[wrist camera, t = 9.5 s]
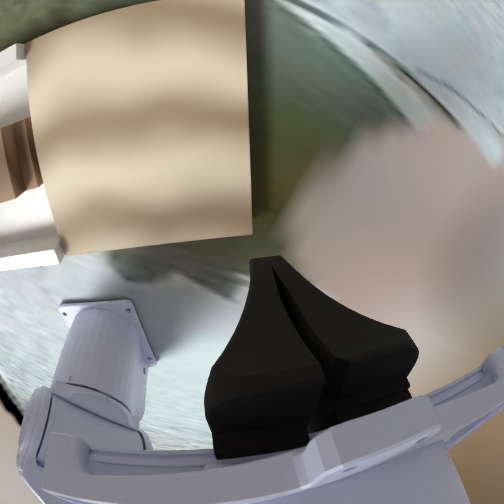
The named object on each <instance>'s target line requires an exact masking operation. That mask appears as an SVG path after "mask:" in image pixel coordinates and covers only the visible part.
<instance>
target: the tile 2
mask: <svg viewBox="0 0 504 504" xmlns="http://www.w3.org/2000/svg"><path fill="white" fill-rule="evenodd" d="M13 130H14V136H15V142H16V148H17V153H18V158H19V163H20V168H21V172H22V176H23V180H24V184H25V188H26V191H27V190H30V189H34V188H38V187H39V186H41V185H42V184H43V179H42V175H41V171H40V166H39V162H38V157H37V152H36V147H35V141H34V135H33V129H32V122H31V117H29V118H26V119H23V120H21V121H18V122H16V123H14V124H13Z"/></svg>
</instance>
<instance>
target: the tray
mask: <svg viewBox="0 0 504 504" xmlns="http://www.w3.org/2000/svg"><path fill="white" fill-rule="evenodd" d="M29 117H31V115H30V106H29V96H28V84H27V64H26V44H18V43H16V44H14V45H12V46H10V47H9V48H7V49H5V50H3V51H2V52H0V128H2V127H5V126H8V125H10V124H14V123H16V122H18V121H21V120H23V119H26V118H29ZM64 256H65V251H64V249H63V246H62V243H61V240H60V237H59V234H58V231H57V228H56V225H55V222H54V219H53V216H52V212H51V209H50V206H49V202H48V199H47V195H46V191H45V187H44V183H43V184H42V185H41V186H39V187H38V188H34V189H30V190H27V191H25V192H24V193H22V194H21V195H20V196H18V197H17V198H16V199H13V200H9V201H6V202H3V203H0V271H6V270H13V269H21V268H29V267H37V266H45V265H53V264H60V262H61V260H62V259H63V257H64Z"/></svg>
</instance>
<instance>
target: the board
mask: <svg viewBox="0 0 504 504" xmlns="http://www.w3.org/2000/svg"><path fill="white" fill-rule="evenodd" d="M26 64H27V84H28V96H29V106H30V115H31V122H32V129H33V135H34V141H35V147H36V152H37V157H38V162H39V166H40V171H41V175H42V179H43V183H44V187H45V191H46V195H47V199H48V202H49V206H50V209H51V212H52V216H53V219H54V222H55V225H56V228H57V231H58V234H59V237H60V240H61V243H62V246H63V249H64V251H65V254H66V256H70V255H77V254H85V253H93V252H101V251H109V250H117V249H125V248H133V247H142V246H150V245H159V244H167V243H176V242H185V241H194V240H203V239H212V238H222V237H231V236H241V235H251V234H253V233H252V203H251V174H250V144H249V115H248V87H247V58H246V30H245V2H244V0H158V1H153V2H147V3H142V4H137V5H133V6H129V7H124V8H120V9H116V10H113V11H109V12H105V13H102V14H99V15H95V16H92V17H89V18H86V19H83V20H80V21H77V22H74V23H72V24H69V25H66V26H64V27H61V28H59V29H56V30H54V31H51V32H49V33H47V34H45V35H42V36H40V37H38V38H36V39H34V40H32V41H29V42H27V43H26Z"/></svg>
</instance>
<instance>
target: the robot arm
mask: <svg viewBox="0 0 504 504" xmlns="http://www.w3.org/2000/svg"><path fill="white" fill-rule="evenodd" d="M249 263H250V286H249V292H248V296H247V300H246V303H245V307H244V310H243V313H242V315H241V318H240V320H239V323H238V325H237V327H236V329H235V332H234V334H233V336H232V337H231V339H230V341H229V343H228V344H227V346H226V348H225V350H224V351H223V353H222V354H221V356H220V357H219V358H218V360H217V361H216V362H215V364H214V365H213V367H212V368H211V372H210V375H209V378H208V382H207V386H206V390H205V397H204V407H205V417H206V420H207V422H208V425H209V427H210V430H211V432H212V439H213V448H214V449H200V450H153V447H152V445H151V442H150V439H149V437H148V435H147V434H146V433H145V432H144V431H142V430H140V429H139V422H140V420H141V419H142V417H143V414H144V411H145V398H146V385H147V373H148V367H155V366H156V365H157V361H156V359H155V357H154V355H153V352H152V350H151V348H150V345H149V343H148V341H147V338H146V336H145V333H144V331H143V329H142V326H141V324H140V321H139V318H138V316H137V313H136V311H135V308H134V305H133V303H132V302H131V301H130V300H114V301H100V302H86V303H70V304H60V305H59V308H58V309H59V311H60V313H61V315H62V317H63V319H64V321H65V322H66V324H67V326H68V328H69V329H70V330H69V333H68V335H67V338H66V341H65V344H64V347H63V350H62V352H61V355H60V358H59V362H58V365H57V368H56V371H55V374H54V378H53V381H52V384H51V387H50V389H49V388H47V387H46V386H42V387H41V388H38V389H35V390H34V392H33V394H32V396H31V398H30V400H29V403H28V406H27V409H26V412H25V415H24V418H23V422H22V426H21V431H20V436H19V447H18V452H17V457H16V463H17V467H18V469H19V474H20V476H21V478H22V479H23V481H24V482H25V483H26V484H27V486H28V487H29V488H30V489H31V490H32V491H33V493H34V494H35V495H36V496H37V497H38V498H39V500H40V501H41V502H42V503H43V504H470V502H469V499H468V496H467V494H466V492H465V489H464V487H463V484H462V482H461V480H460V478H459V475H458V473H457V471H456V468H455V466H454V464H453V462H452V460H451V457H450V455H449V453H448V451H447V449H448V448H450V447H452V446H453V445H455V444H456V443H458V442H459V441H461V440H462V439H464V438H465V437H466V436H468V435H469V434H471V433H472V432H474V431H475V430H476V429H478V428H479V427H480V426H482V425H483V424H484V423H486V422H487V421H488V420H490V419H491V418H492V417H494V416H495V415H496V414H497V413H499V412H500V411H501V410H502V409H503V408H504V346H501V347H500V348H498V349H497V350H495V351H493V352H492V353H490V354H489V355H488V356H487V357H486V358H485V360H484V361H483V362H482V364H481V366H480V367H478V368H477V369H475V370H473V371H471V372H469V373H468V374H466V375H464V376H462V377H460V378H458V379H456V380H455V381H453V382H451V383H449V384H447V385H445V386H443V387H441V388H439V389H437V390H434V391H432V392H430V393H428V394H426V395H424V396H423V395H421V396H418V397H414V398H412V396H411V394H410V393H409V391H408V388H409V387H410V383H409V381H408V379H407V376H408V375H409V373H410V371H411V370H412V368H413V367H414V365H415V363H416V361H417V359H418V355H419V351H418V348H417V346H416V345H415V343H414V342H413V340H412V339H411V337H410V336H409V334H408V333H407V332H406V330H404V329H400V328H397V327H393V326H390V325H387V324H383V323H381V322H378V321H376V320H373V319H370V318H368V317H366V316H363V315H361V314H359V313H357V312H355V311H353V310H351V309H349V308H347V307H345V306H344V305H342V304H340V303H338V302H337V301H335V300H334V299H332V298H330V297H329V296H327V295H326V294H324V293H323V292H322V291H320V290H319V289H318V288H316V287H315V286H314V285H312V284H311V283H310V282H309V281H308V280H306V279H305V278H304V277H303V276H302V275H301V274H300V273H298V272H297V271H296V270H295V269H294V268H293V267H292V266H291V265H290V264H289V263H288V262H287V261H286V260H285V259H284V258H282V257H281V256H272V257H263V258H254V259H251V260H250V261H249ZM127 308H128V309H127ZM129 309H131V310H129Z"/></svg>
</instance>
